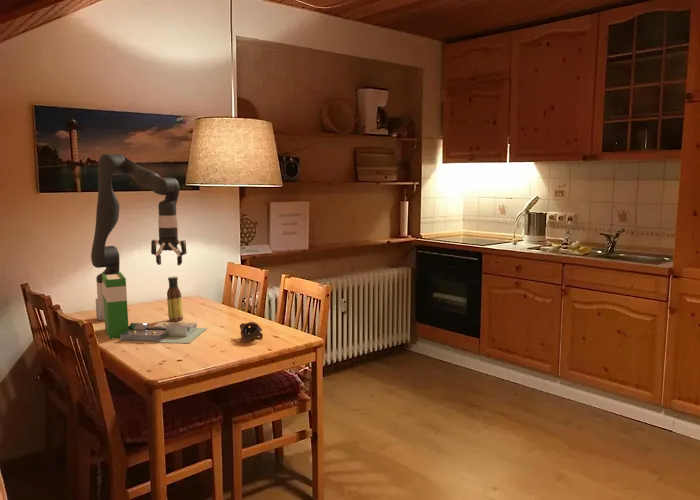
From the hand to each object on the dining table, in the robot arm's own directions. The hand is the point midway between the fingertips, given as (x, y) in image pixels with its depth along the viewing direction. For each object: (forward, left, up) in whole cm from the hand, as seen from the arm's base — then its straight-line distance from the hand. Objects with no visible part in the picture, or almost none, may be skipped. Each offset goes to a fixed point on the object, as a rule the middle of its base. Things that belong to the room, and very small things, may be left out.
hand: (169, 264), depth 248 cm
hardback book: (-21, -6, -28) cm, 36 cm away
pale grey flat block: (+2, -5, -27) cm, 28 cm away
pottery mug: (+37, -11, -28) cm, 48 cm away
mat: (0, -8, -28) cm, 29 cm away
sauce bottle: (-5, +17, -28) cm, 33 cm away
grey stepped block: (-6, -12, -28) cm, 31 cm away
